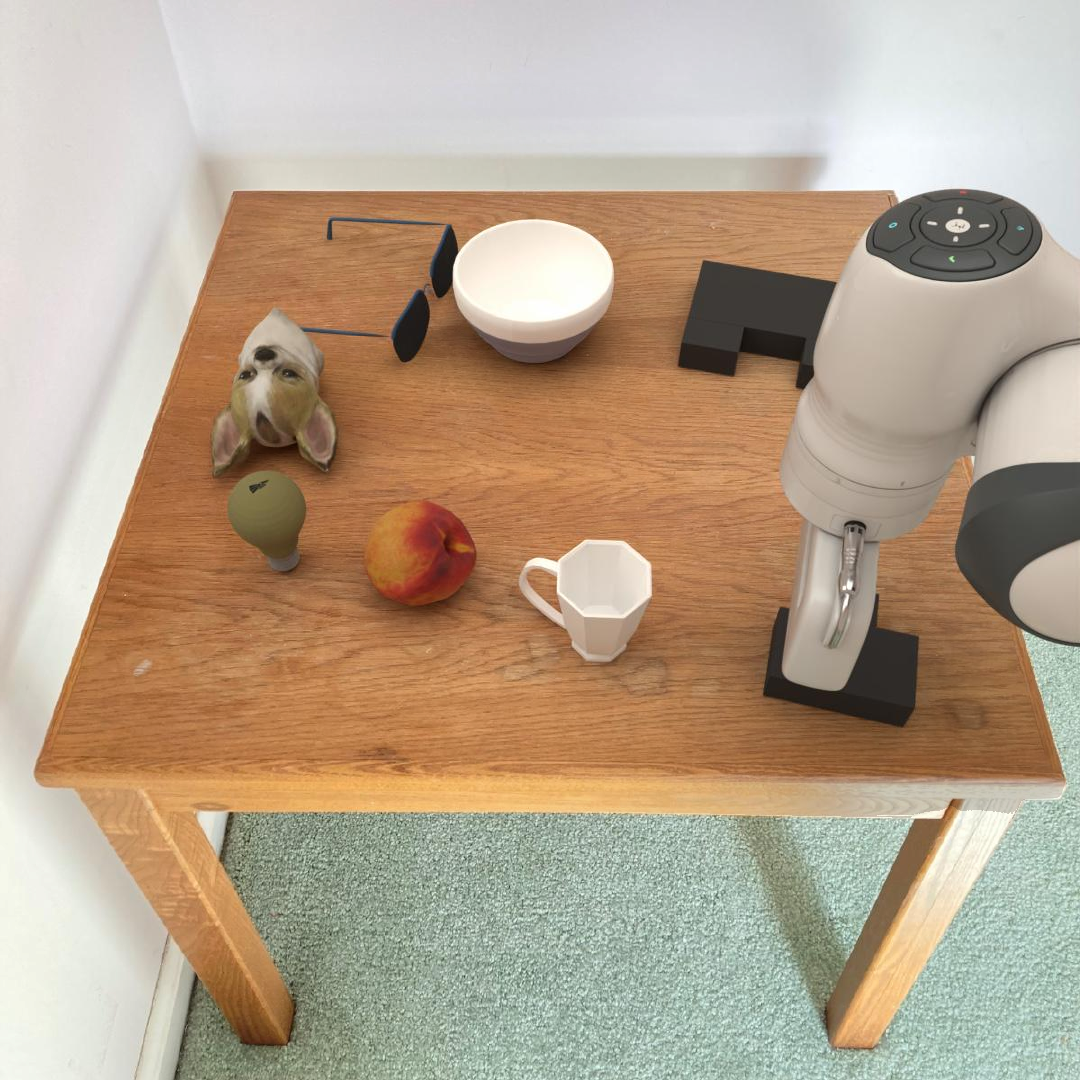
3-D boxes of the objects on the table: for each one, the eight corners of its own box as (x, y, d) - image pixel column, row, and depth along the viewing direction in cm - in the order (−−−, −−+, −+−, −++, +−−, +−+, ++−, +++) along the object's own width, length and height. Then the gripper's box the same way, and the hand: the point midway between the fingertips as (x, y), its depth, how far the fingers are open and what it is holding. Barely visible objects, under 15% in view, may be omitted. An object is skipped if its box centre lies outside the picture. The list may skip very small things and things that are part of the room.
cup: (624, 693, 75) (632, 635, 68) (501, 642, 77) (497, 582, 71) (659, 619, 78) (670, 557, 72) (540, 573, 81) (540, 509, 74)
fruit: (434, 644, 77) (424, 584, 71) (349, 596, 80) (333, 534, 73) (493, 572, 81) (489, 509, 75) (410, 527, 84) (400, 463, 77)
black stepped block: (909, 623, 78) (921, 602, 76) (903, 728, 73) (915, 708, 71) (777, 595, 80) (784, 573, 77) (762, 696, 75) (769, 675, 72)
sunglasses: (408, 376, 94) (395, 334, 90) (265, 363, 98) (247, 322, 94) (464, 260, 104) (455, 217, 100) (333, 252, 108) (319, 210, 104)
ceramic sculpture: (334, 289, 88) (322, 426, 79) (350, 360, 95) (341, 491, 87) (208, 295, 87) (184, 432, 79) (234, 365, 95) (214, 497, 86)
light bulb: (291, 605, 79) (263, 526, 71) (235, 574, 81) (202, 493, 73) (336, 555, 82) (314, 473, 74) (281, 526, 84) (254, 443, 76)
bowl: (624, 296, 101) (629, 231, 95) (591, 400, 92) (595, 335, 86) (481, 272, 103) (477, 207, 97) (437, 371, 94) (430, 307, 88)
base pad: (863, 312, 99) (871, 287, 97) (853, 398, 92) (861, 374, 90) (699, 284, 102) (703, 259, 99) (677, 366, 95) (681, 342, 92)
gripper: (911, 627, 51) (843, 747, 62) (927, 352, 63) (867, 494, 74) (785, 599, 52) (739, 722, 63) (824, 333, 64) (780, 476, 75)
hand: (809, 597), depth 69 cm, fingers open, 8 cm apart
